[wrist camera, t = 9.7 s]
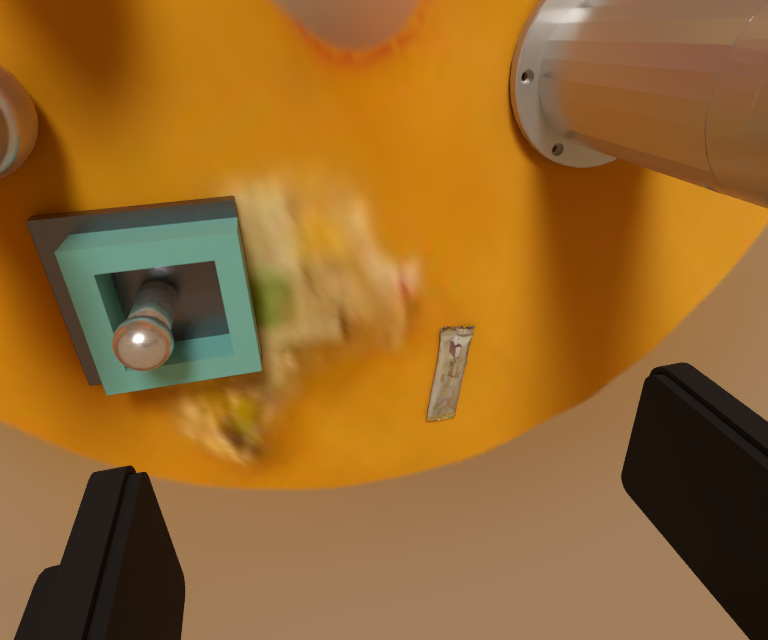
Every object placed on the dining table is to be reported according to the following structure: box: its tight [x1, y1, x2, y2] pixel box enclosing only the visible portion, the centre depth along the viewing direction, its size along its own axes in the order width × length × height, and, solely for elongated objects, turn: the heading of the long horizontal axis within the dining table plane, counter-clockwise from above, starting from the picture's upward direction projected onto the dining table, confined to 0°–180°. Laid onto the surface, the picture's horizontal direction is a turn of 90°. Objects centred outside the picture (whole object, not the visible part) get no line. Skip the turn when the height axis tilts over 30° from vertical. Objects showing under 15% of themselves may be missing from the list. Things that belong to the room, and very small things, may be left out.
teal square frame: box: [54, 217, 262, 396], centre depth 34 cm, size 10×10×3 cm
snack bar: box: [427, 326, 474, 421], centre depth 45 cm, size 10×2×3 cm
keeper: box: [26, 196, 263, 386], centre depth 32 cm, size 12×12×9 cm
